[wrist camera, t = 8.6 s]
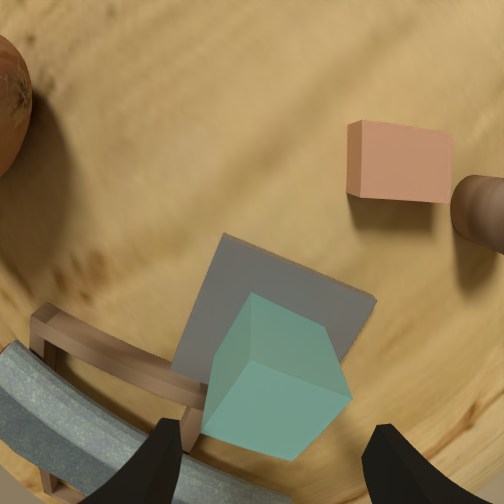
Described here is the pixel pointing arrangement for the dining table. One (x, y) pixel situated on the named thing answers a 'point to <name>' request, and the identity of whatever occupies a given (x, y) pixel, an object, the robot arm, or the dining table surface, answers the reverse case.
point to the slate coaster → (273, 289)
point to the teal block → (273, 382)
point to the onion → (13, 103)
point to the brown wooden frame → (118, 364)
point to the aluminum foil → (93, 437)
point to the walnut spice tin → (480, 211)
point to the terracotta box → (398, 162)
